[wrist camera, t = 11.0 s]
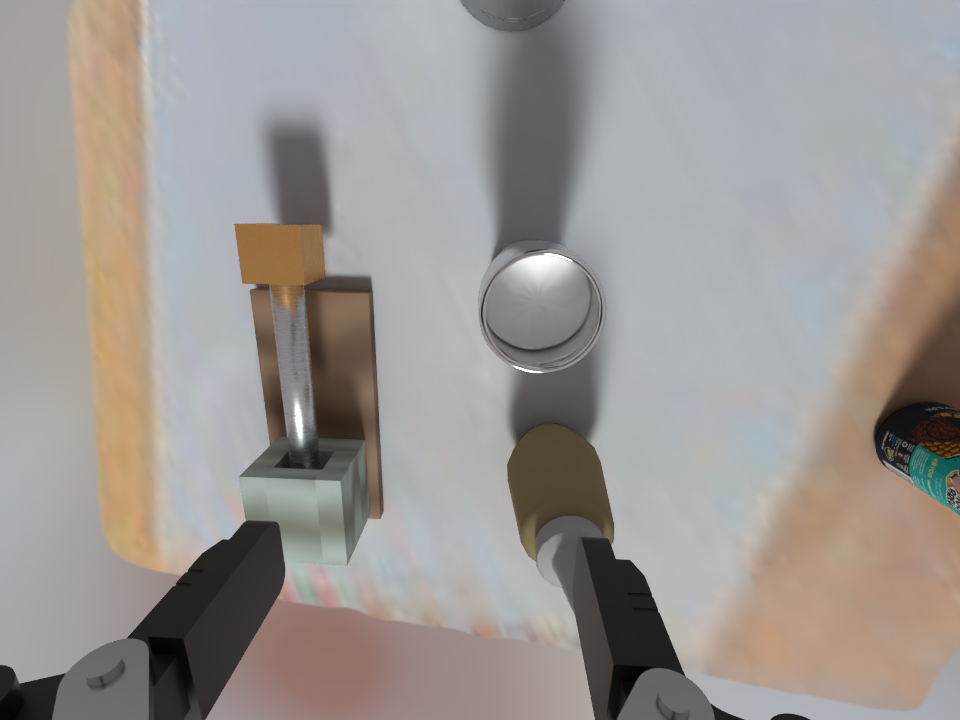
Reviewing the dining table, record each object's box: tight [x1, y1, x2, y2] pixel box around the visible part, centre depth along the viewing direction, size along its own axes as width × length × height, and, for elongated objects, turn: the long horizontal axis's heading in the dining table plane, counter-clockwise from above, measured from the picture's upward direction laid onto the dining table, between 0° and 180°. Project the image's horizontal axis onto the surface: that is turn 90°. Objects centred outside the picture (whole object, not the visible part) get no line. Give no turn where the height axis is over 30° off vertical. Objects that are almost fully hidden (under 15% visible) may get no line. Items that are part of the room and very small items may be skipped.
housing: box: [239, 288, 383, 565], centre depth 38 cm, size 22×10×8 cm, turn 179°
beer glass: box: [478, 240, 606, 373], centre depth 30 cm, size 7×7×15 cm
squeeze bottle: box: [507, 423, 614, 614], centre depth 34 cm, size 8×8×18 cm
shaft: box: [234, 223, 326, 470], centre depth 35 cm, size 22×4×4 cm, turn 179°
